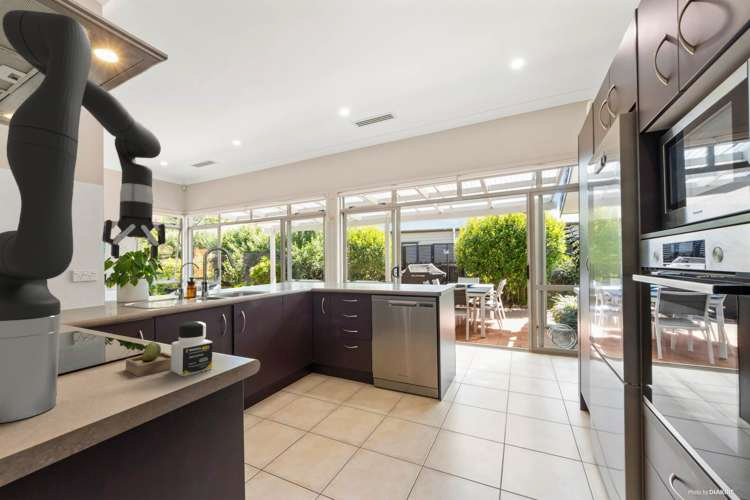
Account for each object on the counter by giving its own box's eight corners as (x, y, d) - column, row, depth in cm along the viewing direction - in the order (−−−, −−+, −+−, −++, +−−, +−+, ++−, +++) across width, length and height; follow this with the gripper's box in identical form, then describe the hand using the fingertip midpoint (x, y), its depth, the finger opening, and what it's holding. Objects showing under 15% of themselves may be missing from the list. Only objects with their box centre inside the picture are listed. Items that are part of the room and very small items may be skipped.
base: (137, 376, 77) (137, 365, 77) (125, 369, 82) (126, 359, 82) (176, 367, 83) (176, 357, 84) (163, 361, 89) (163, 351, 89)
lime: (142, 365, 79) (143, 345, 80) (137, 361, 83) (138, 341, 83) (163, 361, 83) (163, 341, 83) (158, 357, 86) (158, 338, 86)
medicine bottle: (182, 376, 77) (183, 326, 77) (170, 370, 81) (171, 323, 81) (212, 369, 82) (213, 322, 83) (199, 363, 87) (200, 319, 87)
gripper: (160, 206, 99) (159, 259, 99) (101, 199, 88) (99, 258, 87) (169, 204, 94) (168, 258, 94) (108, 196, 83) (106, 258, 83)
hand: (135, 258), depth 91 cm, fingers open, 8 cm apart
